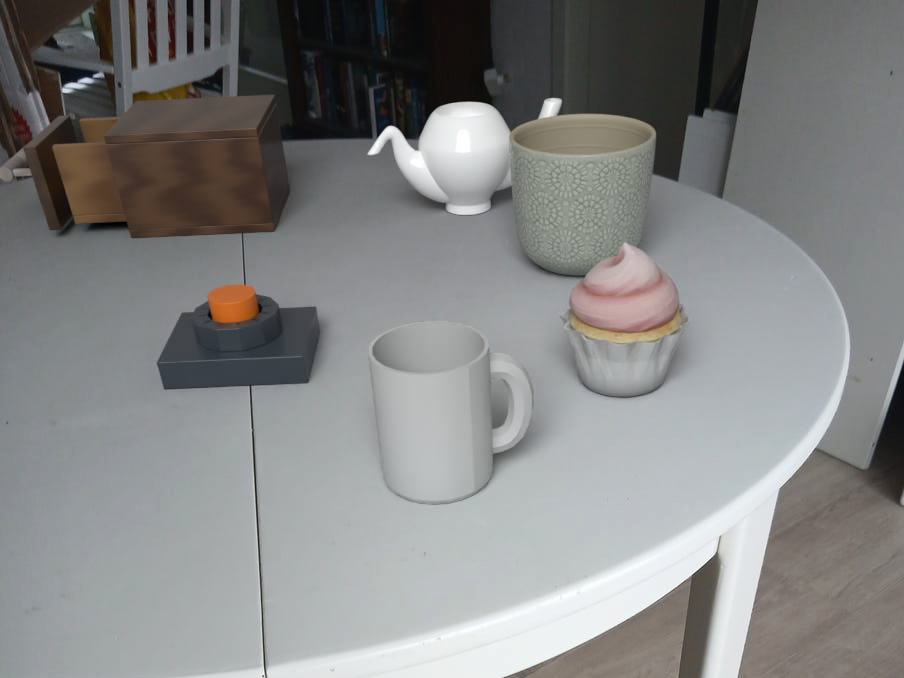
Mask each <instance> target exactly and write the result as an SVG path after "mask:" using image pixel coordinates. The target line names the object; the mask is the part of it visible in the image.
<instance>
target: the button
mask: <svg viewBox="0 0 904 678" xmlns="http://www.w3.org/2000/svg"><path fill="white" fill-rule="evenodd" d="M256 294H257V292H256V289H255V288H254V287H253V286H251V285H246V284H228V285H223V286H219V287H217V288H214V289H212V290H211V291H210V292H209V293H208V294H207V301H208V302H209V307H210V311H211V315H212V319H213V321H217V322H221V323H229V322H241V321H244V320H248V319H251V318H253V317H255V316H256V315H258V314H259V307H258V302H257V297H256Z"/></svg>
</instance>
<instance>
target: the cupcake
mask: <svg viewBox="0 0 904 678" xmlns="http://www.w3.org/2000/svg"><path fill="white" fill-rule="evenodd" d="M679 294H680V293H679V289H678V288H677V286H676V285H675V282H674V281H673V279H672V278H671V277H670V276H669V274H668V273H667V272H666V271H664V269H662V268H660V267H659V266H658V265H657V263H656V261H655V260H654V259H653V258H652V257H651V255H649V254H648V253H647V252H645V251H644V250H642V249H641V248H639V247H638V246H637V247H634V246H632V245H630V244H628V243H623V245H622V247H621V249H620V250H619V253H618V256H614V257H609V258H606V259H604V260H602V261H600V262H599V263H598V264H596V265H595V266H594V267H593V268H592V269H591V270H590V271H589V272H588V273H587V274H586V275H584V278H583V279H581V280H580V281H579V282H578V283H576V284H575V285H574V287H573V288H572V290H571V291H570V294H569V298H568V304H569V307H570V308H569V309H567V310H564V311H561V312H560V313H559V314H558V315H559V317H560V319H561V321H562V323H563V330H564V332H565V334H566V336H567V338H568V340H569V341H570V344H571V346H572V351H573V357H574V361H575V366H576V370H577V375H578V377H579V378H578V379H580V381H581V384H583V385H584V387H586V388H587V389H588V390H591V391H592V392H595V393H597V394H601V395H604V396H608V397H618V398H621V397H623V398H624V397H625V398H630V397H636V396H641V395H642V396H643V395H646V394H648V393H651V392H653V391H655V390H656V389H658V388H660V386H661V385H662V384H663V382H665V379H666V376H667V375H668V374H667V373H668V371H669V368H670V366H671V362H672V359H673V357H674V354H675V351H676V349H677V347H678V344H679V341H680V340H681V338H682V336H683V335H684V333H685V331H686V329H687V328H688V325H689V324H690V322H691V320H692V319H691V316H689V315H688V314H686V313H684V312H685V310H686V306H685V304H683V303H680V296H679Z"/></svg>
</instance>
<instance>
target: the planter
mask: <svg viewBox="0 0 904 678" xmlns="http://www.w3.org/2000/svg"><path fill="white" fill-rule="evenodd" d="M656 144H657V132H656V129H655V128H654V127H653V126H652V125H651V124H649V123H647V122H645V121H642V120H639V119H637V118H632V117H629V116H623V115H616V114H607V113H606V114H605V113H571V114H570V113H569V114H568V113H567V114H560V115H559V114H558V115H557V116H551V117H546V118H541V119H538V118H537V119H532V120H530V121H527V122H525V123H522V124H520V125H518V126H516V127H515V128H514V129H512V130H511V133H510V135H509V156H510V173H511V185H512V186H511V194H512V204H513V213H514V214H513V215H514V221H515V228H516V235H517V239H518V242H519V245H520V247H521V248H522V251H523V252H524V253H525V255H526V256H527V257H528V258H529V259H530V261H532V262H534V263H535V264H536V265H538V266H539V267H541V268H542V269H544V270H546V271H548V272H551V273H554V274H558V275H564V276H574V277H575V276H576V277H579V276H580V277H581V276H586V274H587V273H588V272H589V271H590V270H591V269H592V268H593V267H594V266H595V265H596V264H598V263H599V262H600V261H602V260H604V259H606V258H609V257H614V256H618V253H619V250H620V249H621V247H622V245H623V243H628V244H630V245H632V246H634V247H637V248H638V246H639V244H640V241H641V239H642V236H643V232H644V227H645V224H646V223H645V222H646V218H647V212H648V206H649V201H650V192H651V186H652V180H653V173H654V165H655V156H656V147H657V146H656Z"/></svg>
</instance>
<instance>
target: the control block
mask: <svg viewBox="0 0 904 678" xmlns="http://www.w3.org/2000/svg"><path fill="white" fill-rule="evenodd" d="M256 297H257V302H258V307H259V314H258V315H256V316H255V317H253V318H251V319H248V320H244V321H241V322H229V323H221V322H217V321H213V319H212V315H211V311H210V307H209V302H208V300H207V301H205V302H204V303H202V304H200V305H199V306H196V307H195V308H194V311H185V312H181V313H180V316H179V317H178V319H177V322H176V324H175V325H174V328H173V329H172V331H171V334H170V336H169V337H168V340H167V341H166V343H165V345H164V347H163V349H162V351H161V353H160V354H159V357H158V359H157V361H156V365H157V369H158V372H159V376H160V380H161V383H162V386H163V390H172V389H195V388H218V387H219V388H220V387H239V386H240V387H241V386H266V385H286V384H307V383H308V382H309V379H310V375H311V369H312V366H313V362H314V358H315V354H316V349H317V345H318V341H319V337H320V333H321V329H320V328H321V327H320V323H319V316H318V315H319V314H318V310H317V306H297V307H296V306H295V307H280V305H279V304H278V303H277V302H276V300H274V299H273V298H272V297H271V296H267V295H263V294H257V293H256Z"/></svg>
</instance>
